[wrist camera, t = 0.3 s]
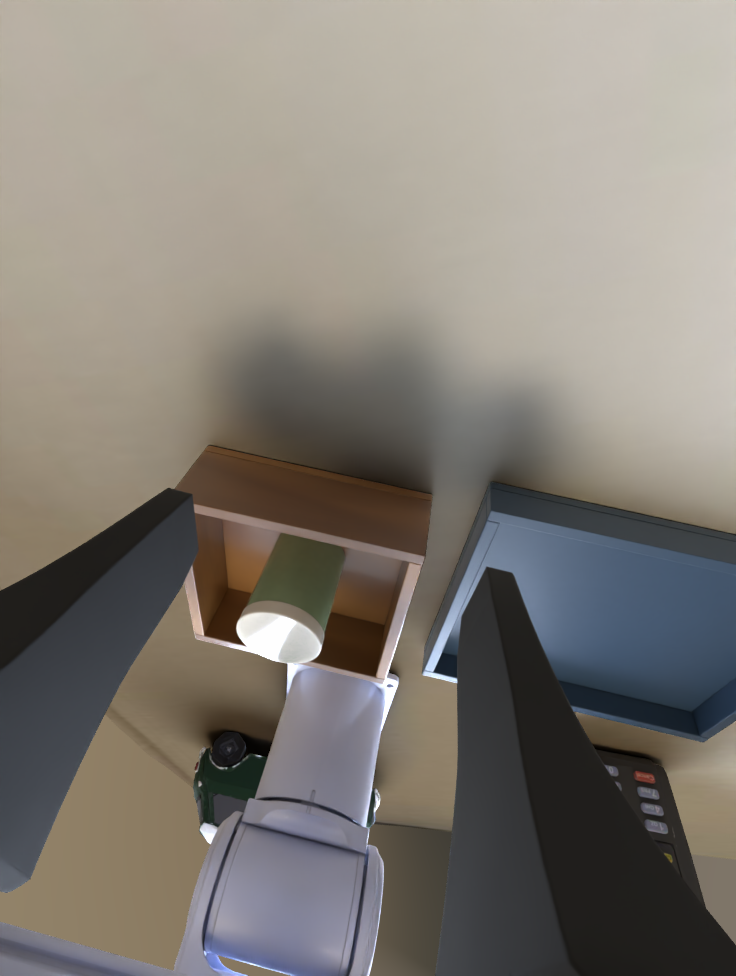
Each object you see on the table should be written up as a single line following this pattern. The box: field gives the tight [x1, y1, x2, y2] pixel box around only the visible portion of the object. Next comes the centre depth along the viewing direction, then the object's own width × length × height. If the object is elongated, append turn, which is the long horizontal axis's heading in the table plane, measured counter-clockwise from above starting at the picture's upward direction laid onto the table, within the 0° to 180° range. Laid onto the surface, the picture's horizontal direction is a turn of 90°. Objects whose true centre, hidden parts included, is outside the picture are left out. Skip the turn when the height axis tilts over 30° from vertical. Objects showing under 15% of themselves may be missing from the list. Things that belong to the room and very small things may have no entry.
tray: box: [422, 482, 736, 742], centre depth 25 cm, size 14×17×2 cm
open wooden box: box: [175, 445, 433, 684], centre depth 25 cm, size 11×11×4 cm
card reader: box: [595, 749, 706, 908], centre depth 30 cm, size 9×4×15 cm, turn 89°
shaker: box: [236, 533, 345, 664], centre depth 24 cm, size 4×4×6 cm
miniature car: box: [193, 732, 380, 844], centre depth 45 cm, size 9×18×8 cm, turn 83°
